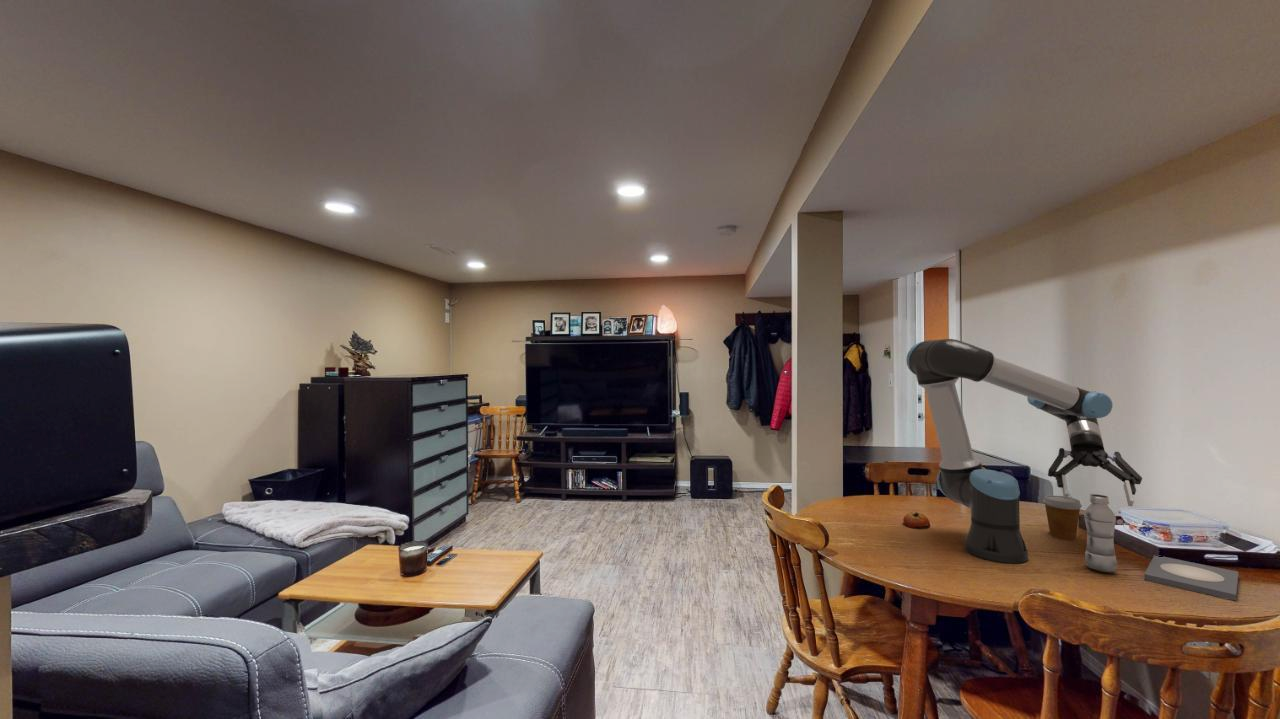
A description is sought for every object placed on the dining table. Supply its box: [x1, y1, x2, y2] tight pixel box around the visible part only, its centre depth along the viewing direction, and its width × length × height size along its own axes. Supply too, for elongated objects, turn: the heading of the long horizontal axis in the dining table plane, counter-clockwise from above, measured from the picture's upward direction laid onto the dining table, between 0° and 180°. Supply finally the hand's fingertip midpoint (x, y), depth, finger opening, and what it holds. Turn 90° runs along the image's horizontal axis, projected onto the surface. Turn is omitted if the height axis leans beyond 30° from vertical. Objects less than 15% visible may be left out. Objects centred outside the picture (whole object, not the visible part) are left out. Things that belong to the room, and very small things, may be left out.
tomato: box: [902, 511, 931, 529], centre depth 171 cm, size 8×7×7 cm
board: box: [1143, 554, 1239, 602], centre depth 127 cm, size 20×15×2 cm
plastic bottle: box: [1083, 493, 1118, 574], centre depth 133 cm, size 6×7×20 cm
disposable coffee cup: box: [1042, 495, 1083, 540], centre depth 159 cm, size 10×10×12 cm
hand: (1097, 500), depth 139 cm, fingers open, 13 cm apart
